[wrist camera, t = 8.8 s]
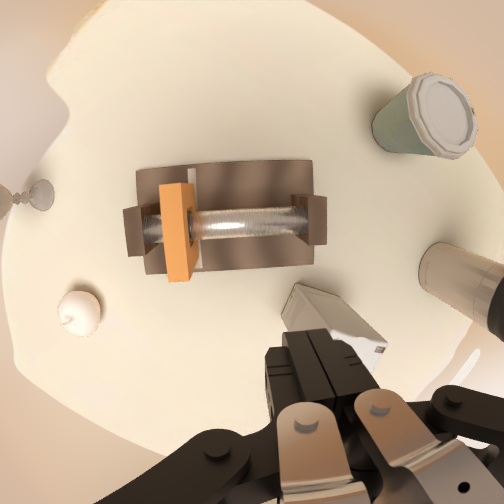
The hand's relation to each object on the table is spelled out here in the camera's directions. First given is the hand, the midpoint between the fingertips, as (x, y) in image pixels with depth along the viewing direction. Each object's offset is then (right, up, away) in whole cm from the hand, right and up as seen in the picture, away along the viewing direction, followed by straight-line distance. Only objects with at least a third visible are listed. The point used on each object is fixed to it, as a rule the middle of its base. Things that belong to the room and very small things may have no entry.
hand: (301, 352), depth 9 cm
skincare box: (+7, -4, +32) cm, 33 cm away
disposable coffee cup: (+19, +22, +26) cm, 39 cm away
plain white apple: (-28, -5, +29) cm, 40 cm away
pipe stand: (-5, +8, +27) cm, 29 cm away
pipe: (-5, +7, +21) cm, 23 cm away
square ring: (-9, +7, +24) cm, 27 cm away
